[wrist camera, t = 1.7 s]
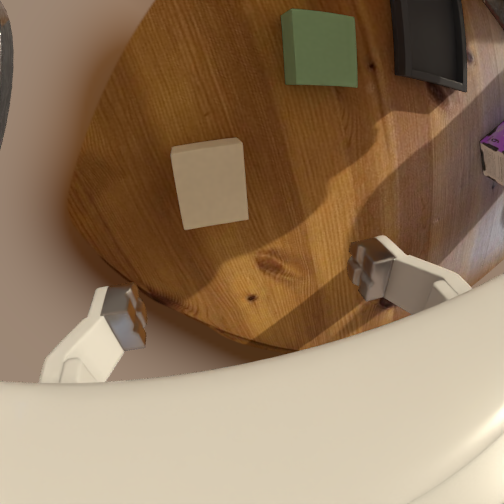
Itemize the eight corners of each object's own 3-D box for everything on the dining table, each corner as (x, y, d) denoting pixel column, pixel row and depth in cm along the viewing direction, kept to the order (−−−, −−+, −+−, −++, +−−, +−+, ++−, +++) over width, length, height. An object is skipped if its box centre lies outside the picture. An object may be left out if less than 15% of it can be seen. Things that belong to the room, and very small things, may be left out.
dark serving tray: (394, 74, 20) (405, 75, 18) (377, -65, 10) (386, -69, 9) (456, 90, 21) (466, 92, 20) (444, -33, 12) (453, -35, 10)
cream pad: (184, 216, 23) (184, 230, 21) (172, 146, 20) (170, 153, 18) (242, 206, 24) (248, 219, 22) (237, 137, 21) (242, 143, 19)
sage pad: (284, 84, 19) (296, 84, 17) (280, 15, 16) (291, 8, 14) (342, 86, 20) (357, 87, 18) (339, 21, 16) (354, 16, 14)
